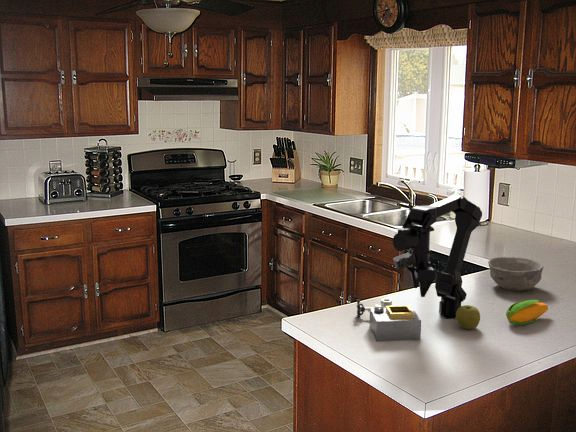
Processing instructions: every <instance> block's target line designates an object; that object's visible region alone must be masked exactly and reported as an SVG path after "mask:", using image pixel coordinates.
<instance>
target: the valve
mask: <svg viewBox="0 0 576 432" xmlns="http://www.w3.org/2000/svg"><path fill="white" fill-rule="evenodd" d="M386 306H393V300H392V299H390V298H382V299H380V305H379V304H375V305H374V306H371V305H370V306H367V307H366V306H365V305H363V303H361V299H357V300H356V319H361V316H362V315H364V313H365V311H367V312H369V313H370V308H375V307H383V308H386Z"/></svg>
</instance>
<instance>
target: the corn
mask: <svg viewBox="0 0 576 432" xmlns="http://www.w3.org/2000/svg"><path fill="white" fill-rule="evenodd" d="M548 310H549V305H548V304H546V303H545V302H540V300H539V299H528V300H523V301H521V302H515V303H513V304H511V305H509V307H508V308H507V309H506V313H505V316H506V318H507V321H508V322H509V324H513V325H515V326H524V325H525V326H526V325H528V324H532V323H535V322H537V321H539V320H541V316H543V315H544V313H546V312H547V311H548Z"/></svg>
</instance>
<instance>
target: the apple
mask: <svg viewBox="0 0 576 432" xmlns="http://www.w3.org/2000/svg"><path fill="white" fill-rule="evenodd" d="M455 320H456V321H457V324H458V325H459V326H460V327H461V328H464V329H466V330H475V329H476V328H477V327H479V324H480V321H481V313H480V310H479V309H478V308H477V307H476V306H473V305H470V304H469V305H468V304H465V305H461V306H460V307H459V308H458V309H457V311H456V318H455Z"/></svg>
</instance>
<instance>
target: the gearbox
mask: <svg viewBox="0 0 576 432" xmlns="http://www.w3.org/2000/svg"><path fill="white" fill-rule="evenodd" d="M369 329H370V331H371V333H373V334H372V335H373V337H374V340H375V342H394V341H395V342H402V341H403V342H404V341H405V342H406V341H421V340H422V339H421V338H422V337H421V336H422V335H421V334H422V319H421V318H420V316H419V314H418V313H417V312H416V311H415V309H414V308H413V307H412V306H409V305H404V304H403V305H391V306H386V308H383V307H375V308H370V312H369Z"/></svg>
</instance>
